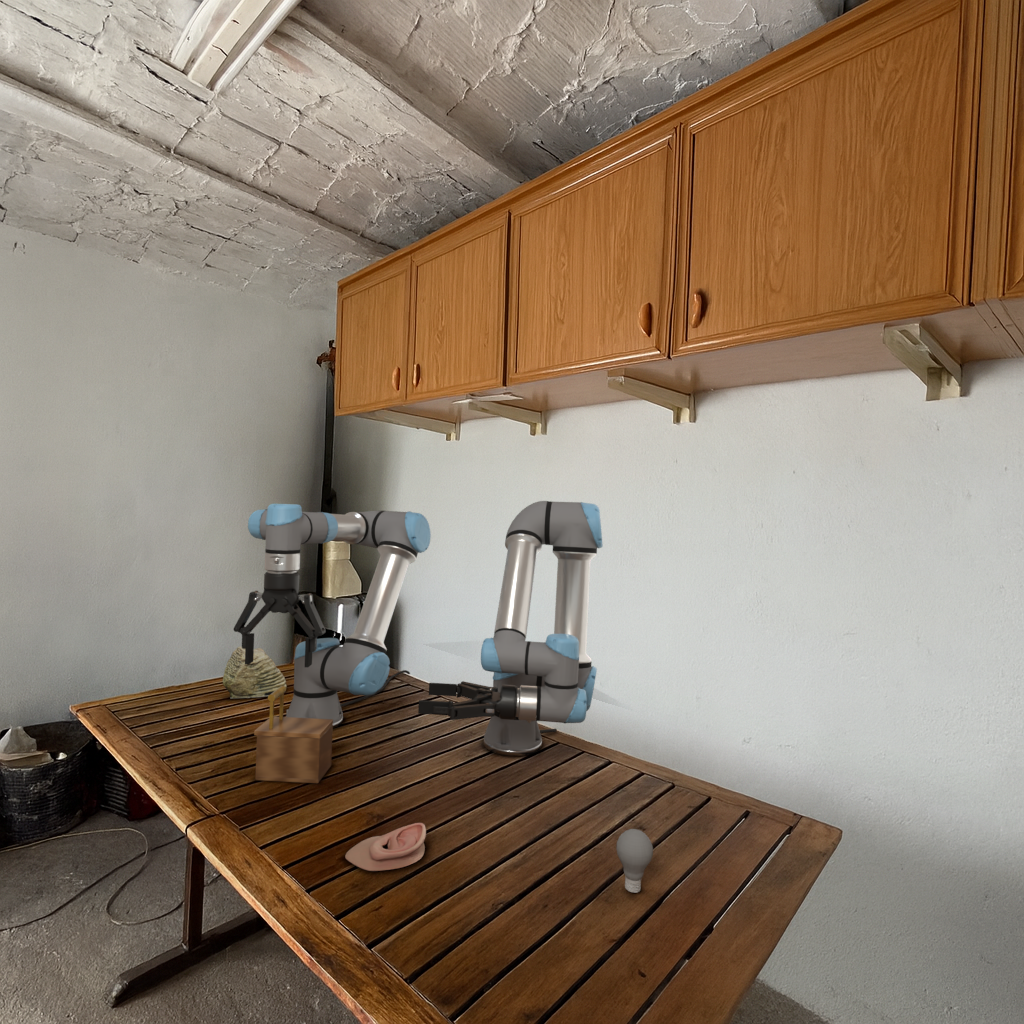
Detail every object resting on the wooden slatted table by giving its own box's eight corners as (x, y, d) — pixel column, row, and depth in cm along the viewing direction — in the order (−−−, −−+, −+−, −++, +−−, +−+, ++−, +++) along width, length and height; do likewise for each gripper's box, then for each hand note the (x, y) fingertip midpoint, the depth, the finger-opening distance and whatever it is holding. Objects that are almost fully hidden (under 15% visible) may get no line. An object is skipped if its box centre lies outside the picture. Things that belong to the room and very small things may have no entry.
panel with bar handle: (254, 735, 140) (255, 695, 140) (271, 720, 149) (272, 683, 149) (319, 738, 140) (321, 699, 139) (332, 723, 149) (334, 686, 149)
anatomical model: (337, 842, 109) (366, 811, 120) (336, 865, 109) (365, 832, 120) (410, 854, 106) (432, 821, 117) (409, 878, 106) (432, 842, 118)
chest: (255, 780, 140) (256, 735, 140) (272, 762, 150) (273, 720, 149) (318, 783, 140) (319, 738, 140) (331, 765, 149) (332, 723, 149)
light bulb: (610, 879, 108) (613, 822, 108) (644, 879, 109) (647, 822, 109) (619, 902, 102) (622, 840, 102) (655, 901, 103) (658, 840, 103)
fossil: (218, 695, 195) (220, 647, 195) (278, 685, 208) (279, 640, 207) (228, 703, 189) (230, 653, 188) (289, 692, 201) (290, 645, 201)
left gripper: (219, 570, 140) (216, 665, 141) (331, 576, 140) (327, 671, 140) (235, 567, 148) (232, 657, 148) (341, 572, 147) (337, 662, 148)
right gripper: (515, 739, 131) (413, 733, 131) (518, 702, 156) (432, 697, 156) (516, 703, 131) (414, 697, 131) (519, 671, 156) (433, 666, 156)
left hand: (278, 664), depth 144 cm, fingers open, 13 cm apart
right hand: (424, 697), depth 144 cm, fingers open, 13 cm apart
